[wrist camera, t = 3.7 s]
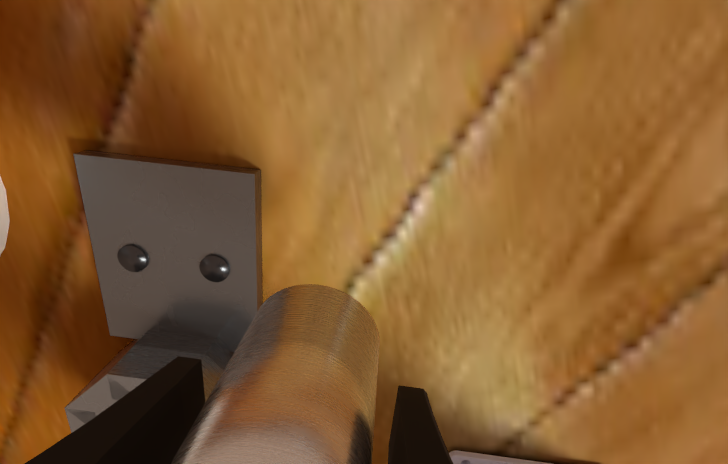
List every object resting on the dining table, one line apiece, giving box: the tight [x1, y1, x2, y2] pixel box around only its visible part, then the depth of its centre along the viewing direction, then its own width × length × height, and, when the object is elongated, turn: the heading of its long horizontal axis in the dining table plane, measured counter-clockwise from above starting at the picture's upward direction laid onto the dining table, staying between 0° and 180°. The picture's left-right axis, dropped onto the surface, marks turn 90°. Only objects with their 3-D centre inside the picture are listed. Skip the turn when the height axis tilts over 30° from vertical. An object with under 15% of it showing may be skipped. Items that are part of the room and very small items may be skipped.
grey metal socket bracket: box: [65, 150, 262, 432], centre depth 21 cm, size 27×9×4 cm, turn 175°
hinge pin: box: [171, 284, 379, 464], centre depth 9 cm, size 5×5×8 cm
